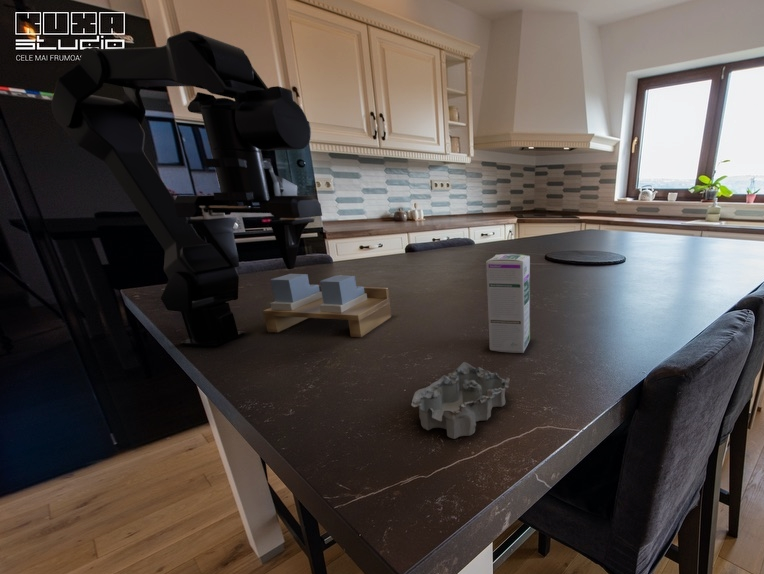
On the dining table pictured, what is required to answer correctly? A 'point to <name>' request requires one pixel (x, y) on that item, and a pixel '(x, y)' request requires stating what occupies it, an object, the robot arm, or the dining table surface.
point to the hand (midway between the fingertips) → (263, 268)
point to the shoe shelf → (358, 316)
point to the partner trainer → (293, 292)
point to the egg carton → (460, 400)
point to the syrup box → (508, 302)
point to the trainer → (341, 294)
